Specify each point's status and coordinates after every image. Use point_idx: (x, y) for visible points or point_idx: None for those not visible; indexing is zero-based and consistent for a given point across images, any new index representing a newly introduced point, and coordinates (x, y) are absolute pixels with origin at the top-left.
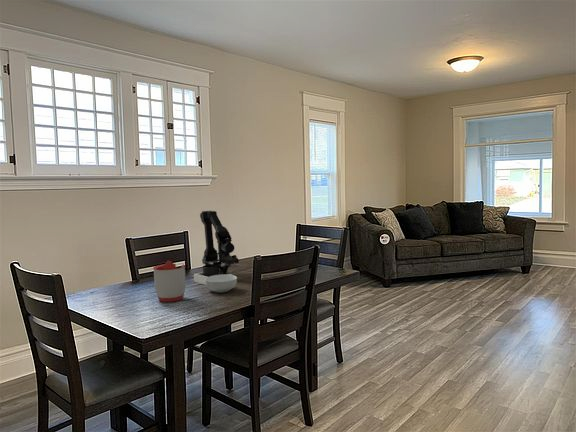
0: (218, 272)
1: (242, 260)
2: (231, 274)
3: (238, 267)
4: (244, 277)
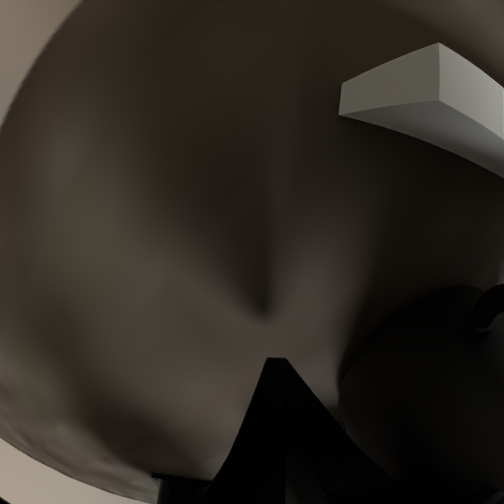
0: (495, 384)
1: (5, 438)
2: (444, 54)
3: (17, 424)
4: (19, 161)
